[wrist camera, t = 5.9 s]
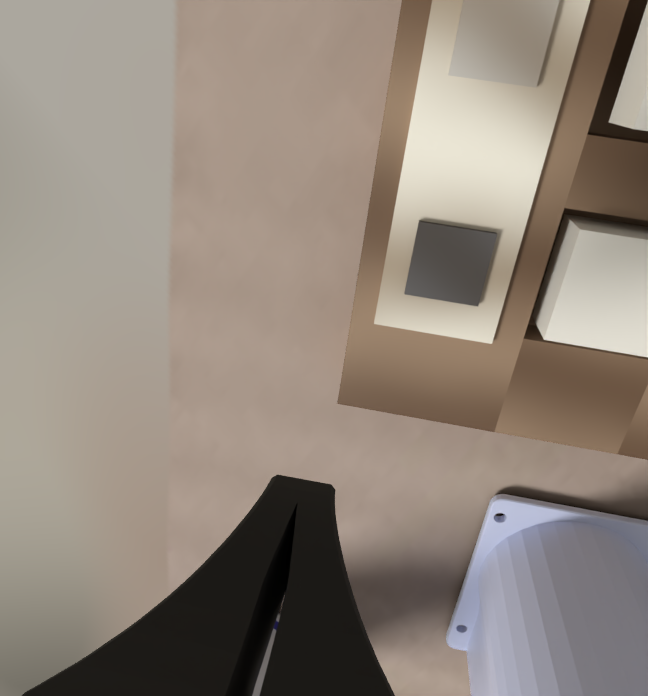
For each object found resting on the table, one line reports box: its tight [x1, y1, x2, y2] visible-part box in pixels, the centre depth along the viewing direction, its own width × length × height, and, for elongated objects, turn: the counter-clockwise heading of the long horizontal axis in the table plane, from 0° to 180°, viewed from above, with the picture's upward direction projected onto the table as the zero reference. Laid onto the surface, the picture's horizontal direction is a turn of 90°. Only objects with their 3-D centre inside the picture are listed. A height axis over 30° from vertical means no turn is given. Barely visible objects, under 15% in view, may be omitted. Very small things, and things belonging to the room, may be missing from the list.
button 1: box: [532, 214, 648, 357], centre depth 18 cm, size 4×4×2 cm
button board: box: [337, 0, 648, 460], centre depth 16 cm, size 25×12×2 cm, turn 173°
